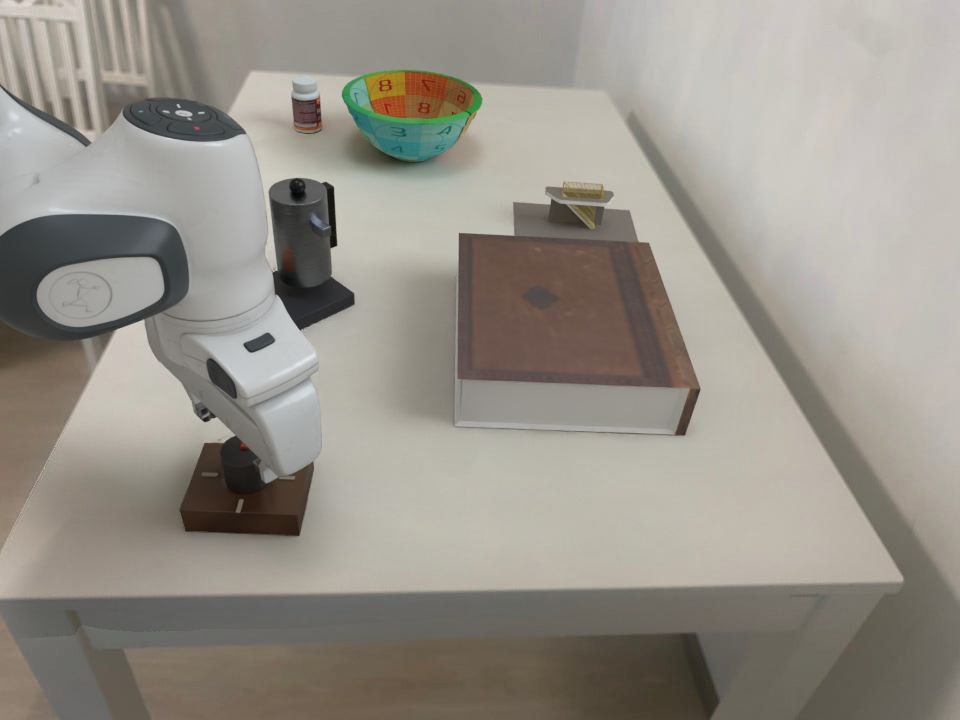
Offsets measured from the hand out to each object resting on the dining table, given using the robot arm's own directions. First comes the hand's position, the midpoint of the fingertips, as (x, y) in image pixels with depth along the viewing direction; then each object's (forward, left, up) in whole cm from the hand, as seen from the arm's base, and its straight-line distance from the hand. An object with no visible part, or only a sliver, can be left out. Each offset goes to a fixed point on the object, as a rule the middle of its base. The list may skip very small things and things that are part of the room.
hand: (237, 444), depth 67 cm
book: (+39, -5, -7) cm, 40 cm away
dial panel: (0, -1, -7) cm, 7 cm away
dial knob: (0, -1, -4) cm, 4 cm away
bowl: (+60, +45, -7) cm, 76 cm away
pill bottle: (+52, +63, -7) cm, 82 cm away
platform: (+63, +12, -7) cm, 65 cm away
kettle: (+23, +21, -3) cm, 32 cm away
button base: (+19, +22, -7) cm, 30 cm away
